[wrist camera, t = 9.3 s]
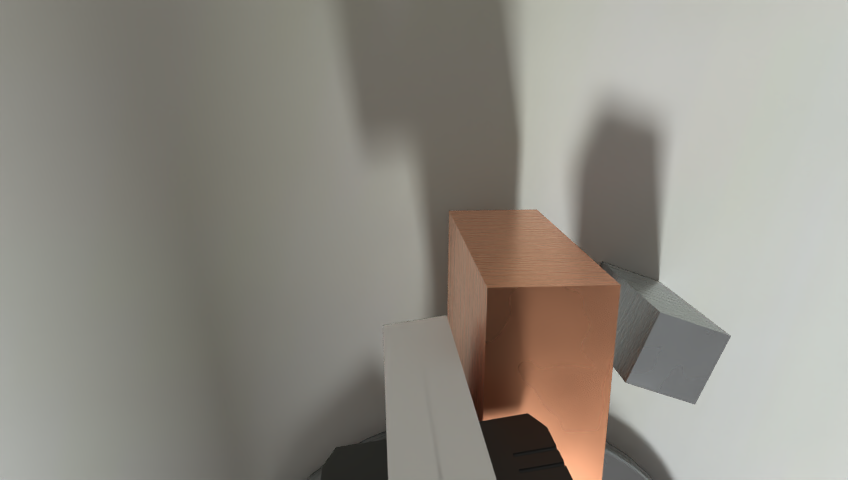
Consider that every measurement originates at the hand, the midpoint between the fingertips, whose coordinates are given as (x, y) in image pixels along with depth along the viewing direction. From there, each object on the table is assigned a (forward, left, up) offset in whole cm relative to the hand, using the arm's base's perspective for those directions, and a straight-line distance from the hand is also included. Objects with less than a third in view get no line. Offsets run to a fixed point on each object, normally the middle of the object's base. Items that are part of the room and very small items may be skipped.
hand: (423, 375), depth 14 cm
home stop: (+1, -6, -5) cm, 8 cm away
